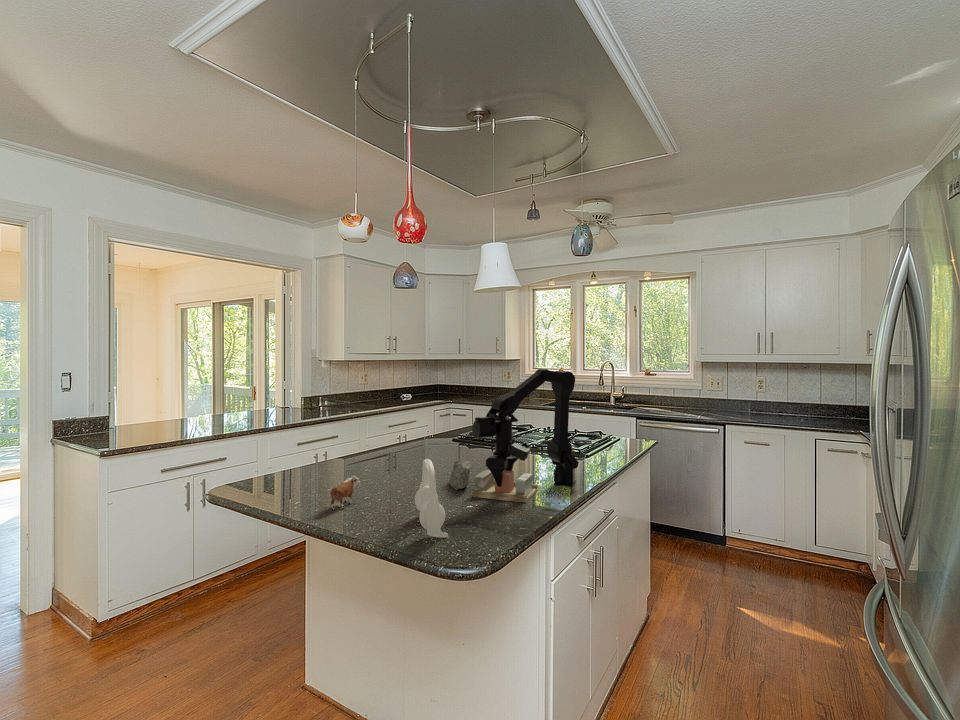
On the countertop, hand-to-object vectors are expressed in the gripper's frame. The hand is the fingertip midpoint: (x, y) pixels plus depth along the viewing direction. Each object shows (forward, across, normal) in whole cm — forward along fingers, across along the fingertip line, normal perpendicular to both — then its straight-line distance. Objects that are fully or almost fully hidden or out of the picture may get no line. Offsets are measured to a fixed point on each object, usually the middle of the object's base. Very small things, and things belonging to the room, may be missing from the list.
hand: (504, 482), depth 165 cm
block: (+2, 0, 0) cm, 3 cm away
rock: (+4, +4, +18) cm, 18 cm away
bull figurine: (+4, -28, +42) cm, 51 cm away
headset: (+4, -35, +10) cm, 36 cm away
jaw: (+2, 0, -7) cm, 7 cm away
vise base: (+4, 0, 0) cm, 4 cm away
